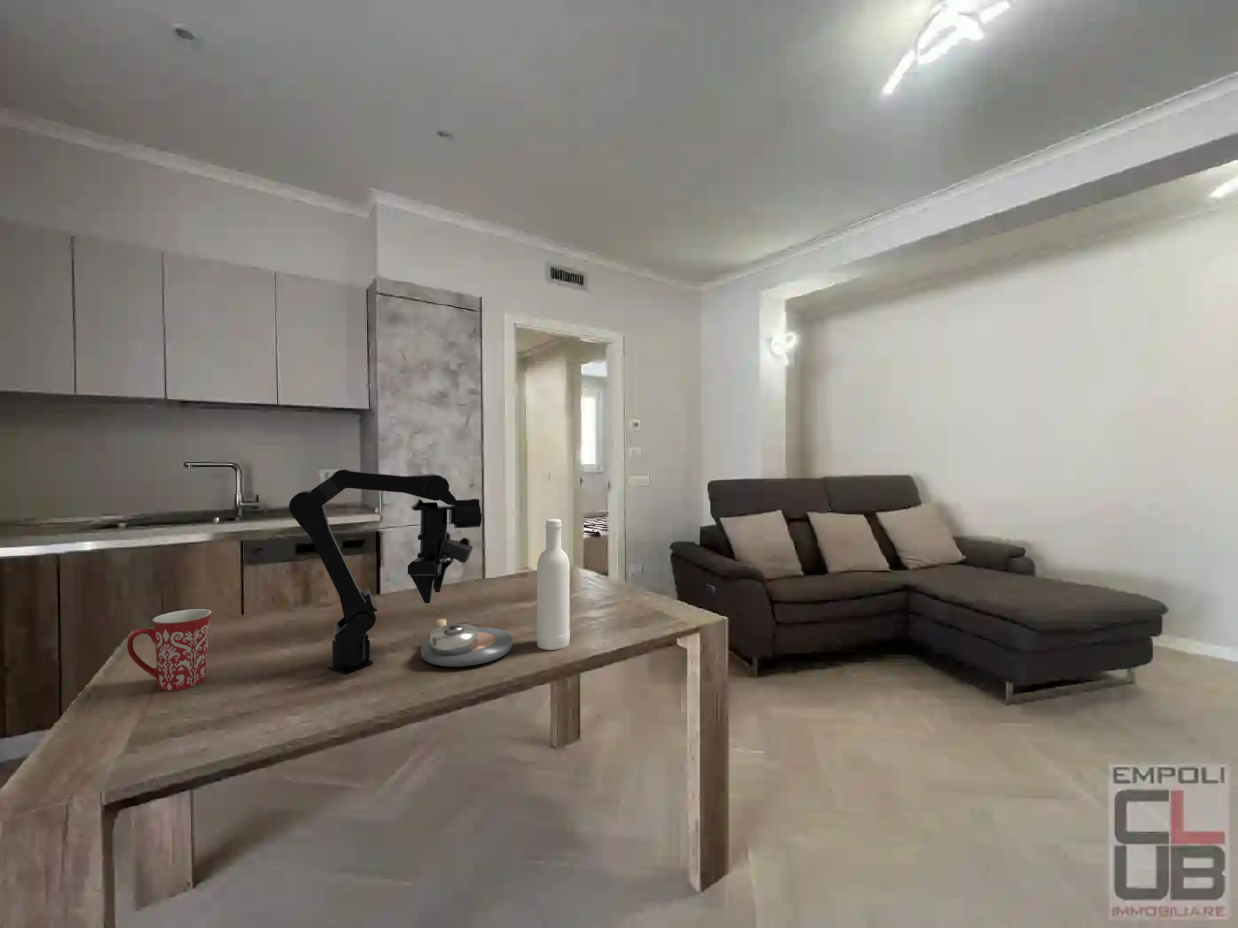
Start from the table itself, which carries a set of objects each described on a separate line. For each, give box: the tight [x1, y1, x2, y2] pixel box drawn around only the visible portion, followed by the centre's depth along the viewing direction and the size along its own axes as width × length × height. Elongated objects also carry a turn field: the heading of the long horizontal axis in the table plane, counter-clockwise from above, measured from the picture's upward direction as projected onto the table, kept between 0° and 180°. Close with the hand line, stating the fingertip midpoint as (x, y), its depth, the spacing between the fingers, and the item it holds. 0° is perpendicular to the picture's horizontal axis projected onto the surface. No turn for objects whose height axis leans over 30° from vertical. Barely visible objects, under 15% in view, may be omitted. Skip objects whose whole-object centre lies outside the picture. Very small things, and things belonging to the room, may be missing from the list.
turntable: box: [420, 618, 513, 667], centre depth 120 cm, size 20×20×5 cm
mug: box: [126, 608, 212, 692], centre depth 103 cm, size 13×9×14 cm
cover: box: [429, 623, 477, 656], centre depth 116 cm, size 10×10×5 cm
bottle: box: [536, 518, 571, 651], centre depth 125 cm, size 8×8×30 cm
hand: (432, 597), depth 119 cm, fingers open, 9 cm apart
